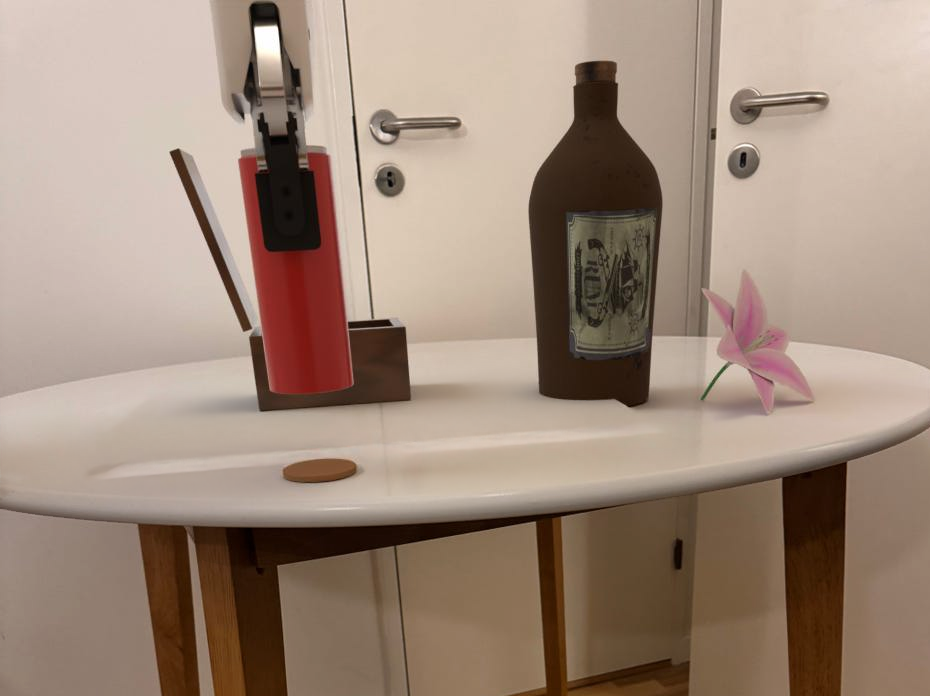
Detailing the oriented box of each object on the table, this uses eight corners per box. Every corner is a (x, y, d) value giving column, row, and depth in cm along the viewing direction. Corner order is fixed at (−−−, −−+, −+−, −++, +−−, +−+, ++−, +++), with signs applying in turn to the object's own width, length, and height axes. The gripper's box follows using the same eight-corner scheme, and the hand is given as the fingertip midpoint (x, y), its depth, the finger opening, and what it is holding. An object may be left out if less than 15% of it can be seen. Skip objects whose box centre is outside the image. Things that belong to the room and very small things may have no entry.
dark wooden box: (403, 394, 88) (397, 317, 85) (412, 410, 80) (405, 326, 77) (265, 404, 86) (254, 326, 83) (260, 422, 78) (248, 336, 76)
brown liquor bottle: (518, 395, 84) (509, 75, 74) (628, 385, 86) (635, 72, 76) (553, 416, 75) (549, 52, 65) (676, 405, 77) (691, 50, 67)
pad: (282, 485, 59) (281, 479, 59) (284, 467, 63) (283, 461, 63) (358, 478, 60) (357, 472, 59) (355, 461, 64) (354, 455, 64)
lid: (192, 155, 77) (183, 158, 77) (178, 147, 70) (168, 151, 70) (258, 319, 83) (249, 322, 83) (252, 329, 75) (243, 332, 75)
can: (267, 397, 56) (233, 147, 51) (271, 383, 61) (240, 154, 56) (355, 390, 57) (330, 143, 52) (352, 377, 62) (329, 150, 56)
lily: (687, 436, 71) (758, 321, 65) (627, 357, 78) (686, 248, 73) (799, 463, 77) (874, 360, 71) (734, 386, 84) (796, 288, 78)
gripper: (194, -80, 56) (241, 249, 63) (147, -198, 40) (217, 257, 48) (321, -81, 57) (352, 243, 64) (323, -197, 41) (364, 249, 49)
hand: (294, 246), depth 56 cm, fingers closed on can, 5 cm apart
